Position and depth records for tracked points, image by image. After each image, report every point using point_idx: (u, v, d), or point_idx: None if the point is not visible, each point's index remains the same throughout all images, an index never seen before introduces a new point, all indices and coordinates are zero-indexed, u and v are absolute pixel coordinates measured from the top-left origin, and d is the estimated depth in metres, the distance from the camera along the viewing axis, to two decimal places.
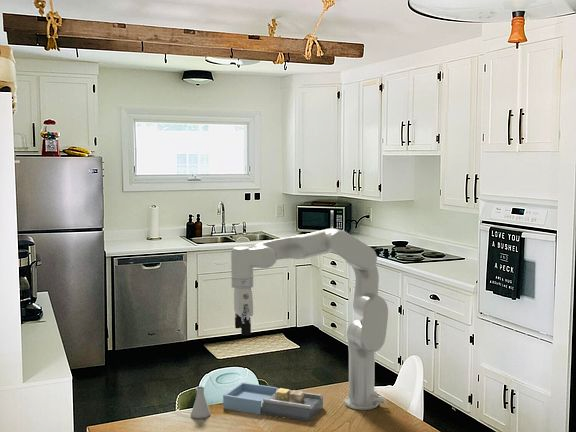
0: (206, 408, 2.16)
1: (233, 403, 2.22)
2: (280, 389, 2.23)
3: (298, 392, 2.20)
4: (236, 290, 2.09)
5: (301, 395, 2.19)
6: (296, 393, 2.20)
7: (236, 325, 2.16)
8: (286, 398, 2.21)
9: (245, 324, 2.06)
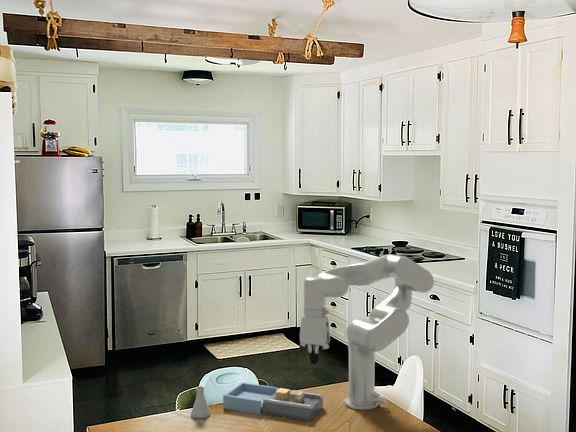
0: (206, 408, 2.16)
1: (233, 403, 2.22)
2: (280, 389, 2.23)
3: (298, 392, 2.20)
4: (316, 320, 2.13)
5: (301, 395, 2.19)
6: (296, 393, 2.20)
7: (312, 361, 2.15)
8: (286, 398, 2.21)
9: (318, 353, 2.15)
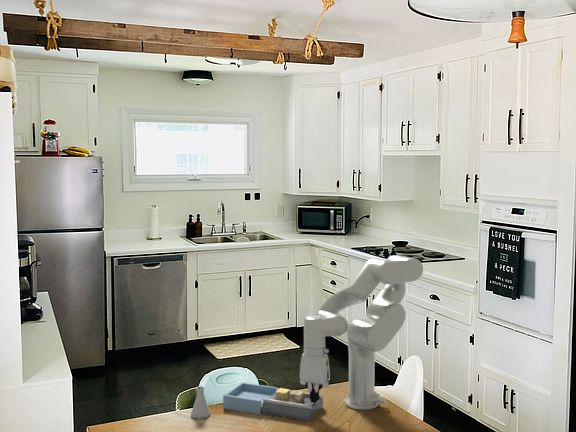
0: (206, 408, 2.16)
1: (233, 403, 2.22)
2: (280, 389, 2.23)
3: (298, 392, 2.20)
4: (315, 359, 2.14)
5: (301, 395, 2.19)
6: (296, 393, 2.20)
7: (312, 399, 2.16)
8: (286, 398, 2.21)
9: (318, 392, 2.16)
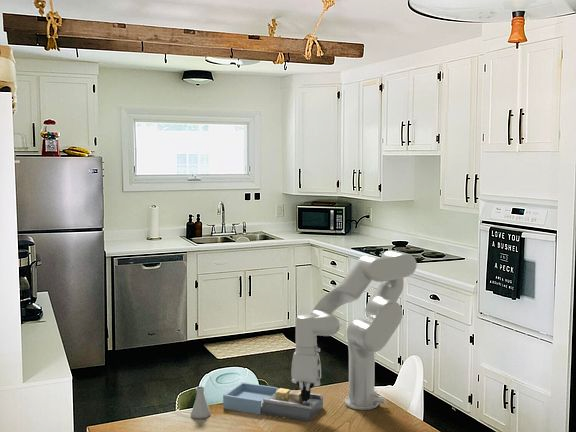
0: (206, 408, 2.16)
1: (233, 403, 2.22)
2: (280, 389, 2.23)
3: (297, 392, 2.20)
4: (307, 358, 2.15)
5: (300, 395, 2.19)
6: (296, 393, 2.20)
7: (304, 398, 2.17)
8: (286, 398, 2.21)
9: (309, 390, 2.17)
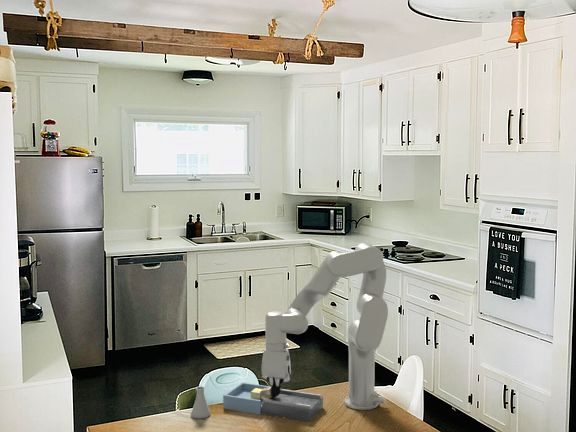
0: (206, 408, 2.16)
1: (233, 403, 2.22)
2: (255, 389, 2.28)
3: (268, 388, 2.25)
4: (276, 354, 2.19)
5: None
6: (266, 389, 2.25)
7: (274, 393, 2.22)
8: None
9: (279, 386, 2.22)
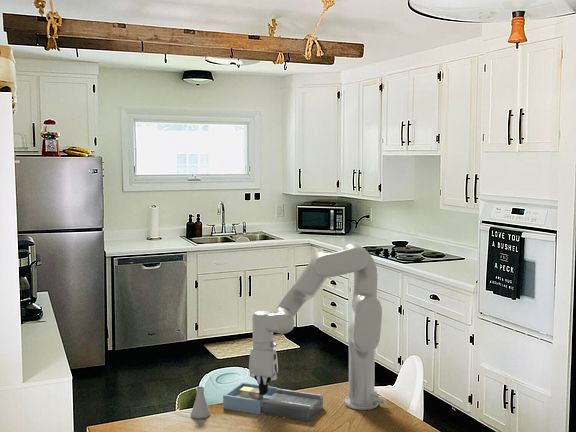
0: (206, 408, 2.16)
1: (233, 403, 2.22)
2: (244, 387, 2.30)
3: (257, 390, 2.27)
4: (263, 353, 2.21)
5: None
6: (256, 390, 2.27)
7: (261, 392, 2.24)
8: None
9: (266, 384, 2.24)
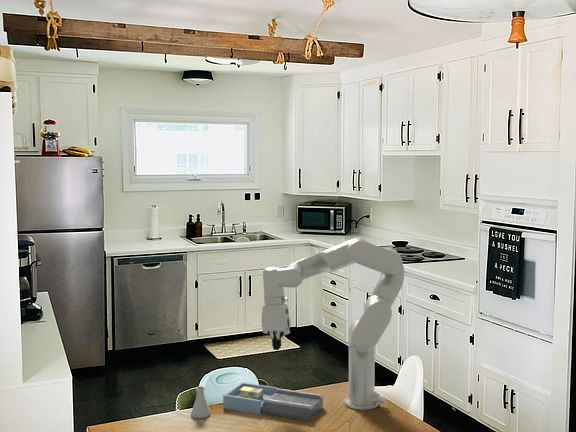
0: (206, 408, 2.16)
1: (233, 403, 2.22)
2: (244, 387, 2.30)
3: (257, 390, 2.27)
4: (275, 308, 2.24)
5: (260, 392, 2.26)
6: (255, 390, 2.27)
7: (275, 347, 2.27)
8: None
9: (279, 339, 2.27)
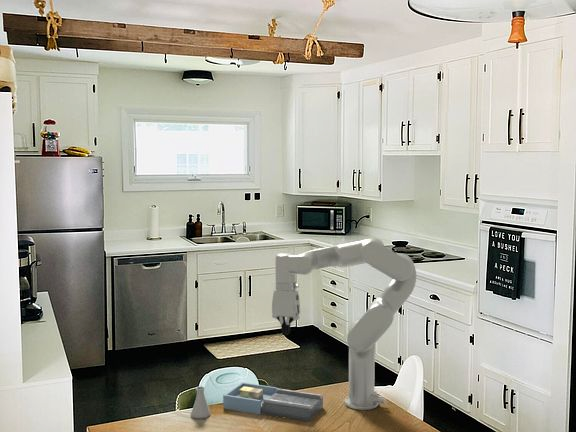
0: (206, 408, 2.16)
1: (233, 403, 2.22)
2: (244, 387, 2.30)
3: (257, 390, 2.27)
4: (286, 293, 2.27)
5: (260, 392, 2.26)
6: (255, 390, 2.27)
7: (284, 332, 2.30)
8: None
9: (289, 324, 2.30)
